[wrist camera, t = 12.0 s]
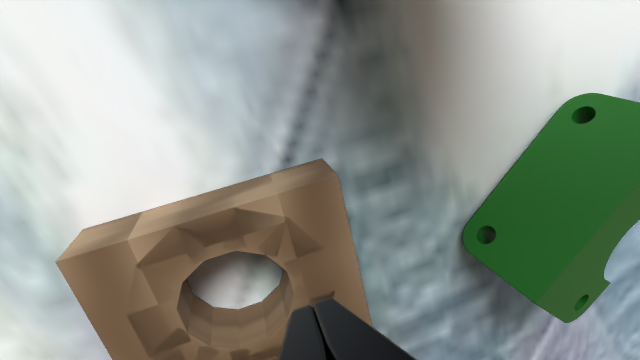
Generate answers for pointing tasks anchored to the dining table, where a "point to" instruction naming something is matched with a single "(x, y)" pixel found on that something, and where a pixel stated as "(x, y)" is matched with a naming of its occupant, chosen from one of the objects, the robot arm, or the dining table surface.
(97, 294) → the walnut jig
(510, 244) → the clamp
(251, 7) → the dining table surface
